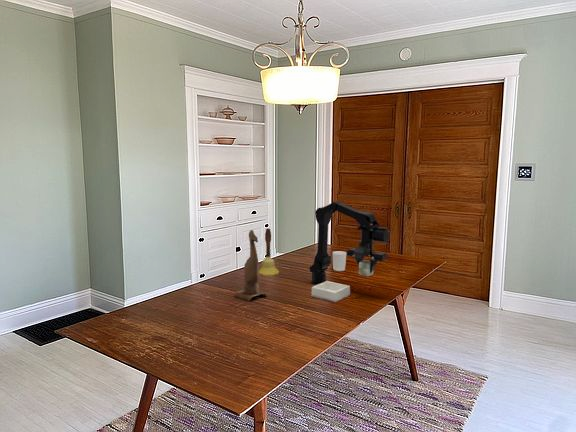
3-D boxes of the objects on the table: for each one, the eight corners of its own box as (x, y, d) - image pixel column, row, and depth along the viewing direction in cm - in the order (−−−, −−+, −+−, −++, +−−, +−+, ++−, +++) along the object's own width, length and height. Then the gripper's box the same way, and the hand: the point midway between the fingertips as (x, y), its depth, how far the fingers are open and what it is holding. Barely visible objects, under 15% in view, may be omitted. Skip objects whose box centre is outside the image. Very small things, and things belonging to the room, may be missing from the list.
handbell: (283, 273, 243) (283, 229, 239) (264, 276, 236) (264, 231, 232) (271, 268, 253) (271, 226, 249) (253, 271, 246) (252, 228, 242)
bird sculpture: (250, 303, 196) (252, 234, 190) (233, 296, 203) (234, 229, 198) (268, 297, 204) (269, 230, 199) (251, 291, 212) (252, 227, 206)
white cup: (345, 271, 245) (345, 254, 244) (331, 271, 247) (331, 253, 246) (346, 268, 253) (346, 251, 252) (333, 267, 255) (333, 250, 253)
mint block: (358, 274, 205) (359, 262, 204) (363, 272, 209) (364, 260, 208) (368, 276, 202) (368, 263, 201) (373, 273, 206) (373, 261, 205)
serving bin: (311, 296, 204) (311, 287, 203) (327, 289, 214) (327, 280, 213) (334, 302, 196) (335, 292, 195) (349, 295, 206) (350, 286, 205)
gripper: (340, 239, 203) (340, 272, 205) (376, 245, 191) (375, 279, 194) (352, 236, 211) (352, 267, 214) (388, 241, 200) (387, 274, 202)
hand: (366, 272), depth 206 cm, fingers closed on mint block, 5 cm apart
